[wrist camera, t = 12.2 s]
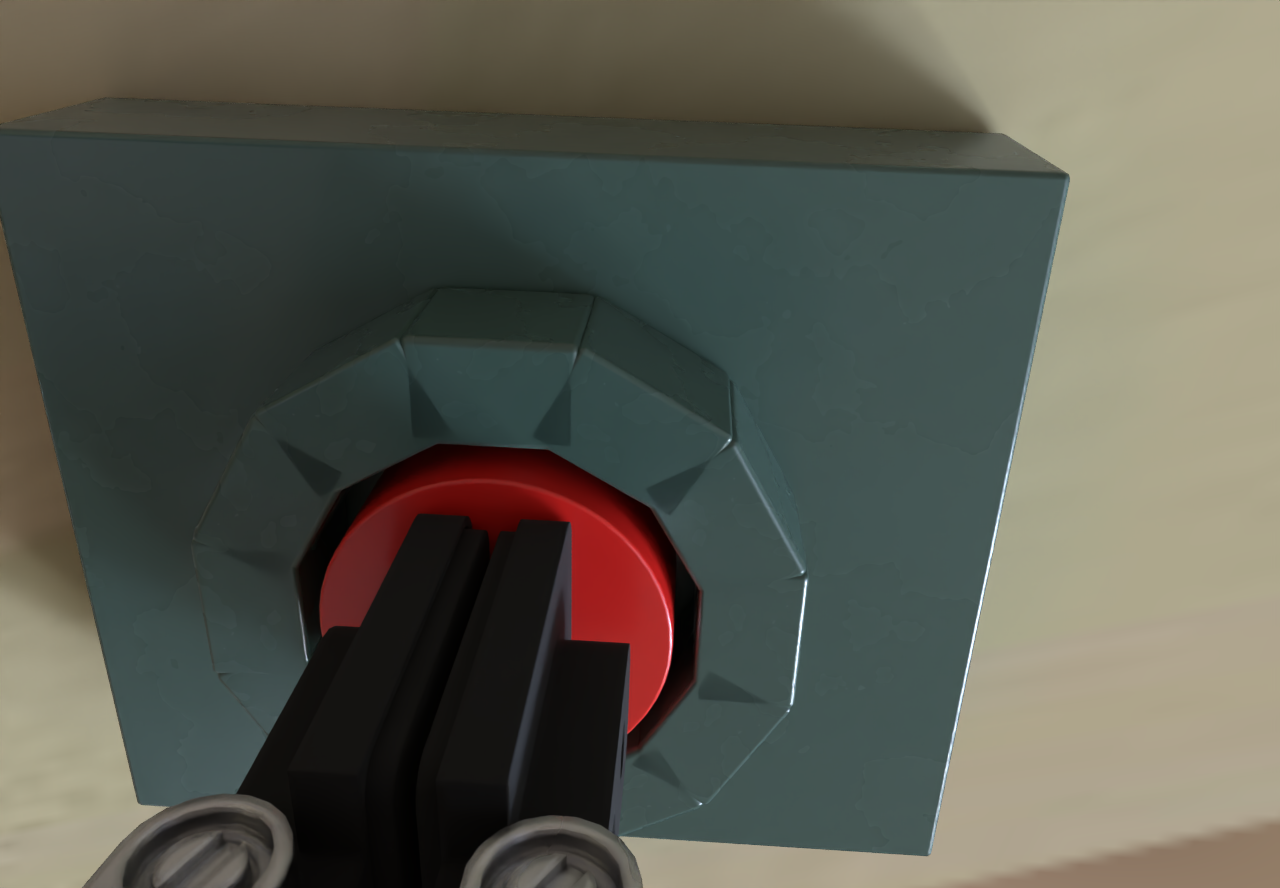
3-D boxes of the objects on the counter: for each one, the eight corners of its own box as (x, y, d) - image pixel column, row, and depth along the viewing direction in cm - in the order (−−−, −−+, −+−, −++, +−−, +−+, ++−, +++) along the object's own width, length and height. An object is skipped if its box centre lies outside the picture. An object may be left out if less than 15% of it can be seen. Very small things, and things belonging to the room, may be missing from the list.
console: (901, 734, 18) (958, 966, 14) (211, 692, 18) (71, 904, 14) (1007, 132, 14) (1136, 212, 10) (102, 96, 14) (-144, 157, 10)
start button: (670, 691, 14) (665, 784, 12) (376, 674, 14) (335, 764, 13) (684, 420, 12) (681, 489, 11) (350, 403, 12) (298, 469, 11)
